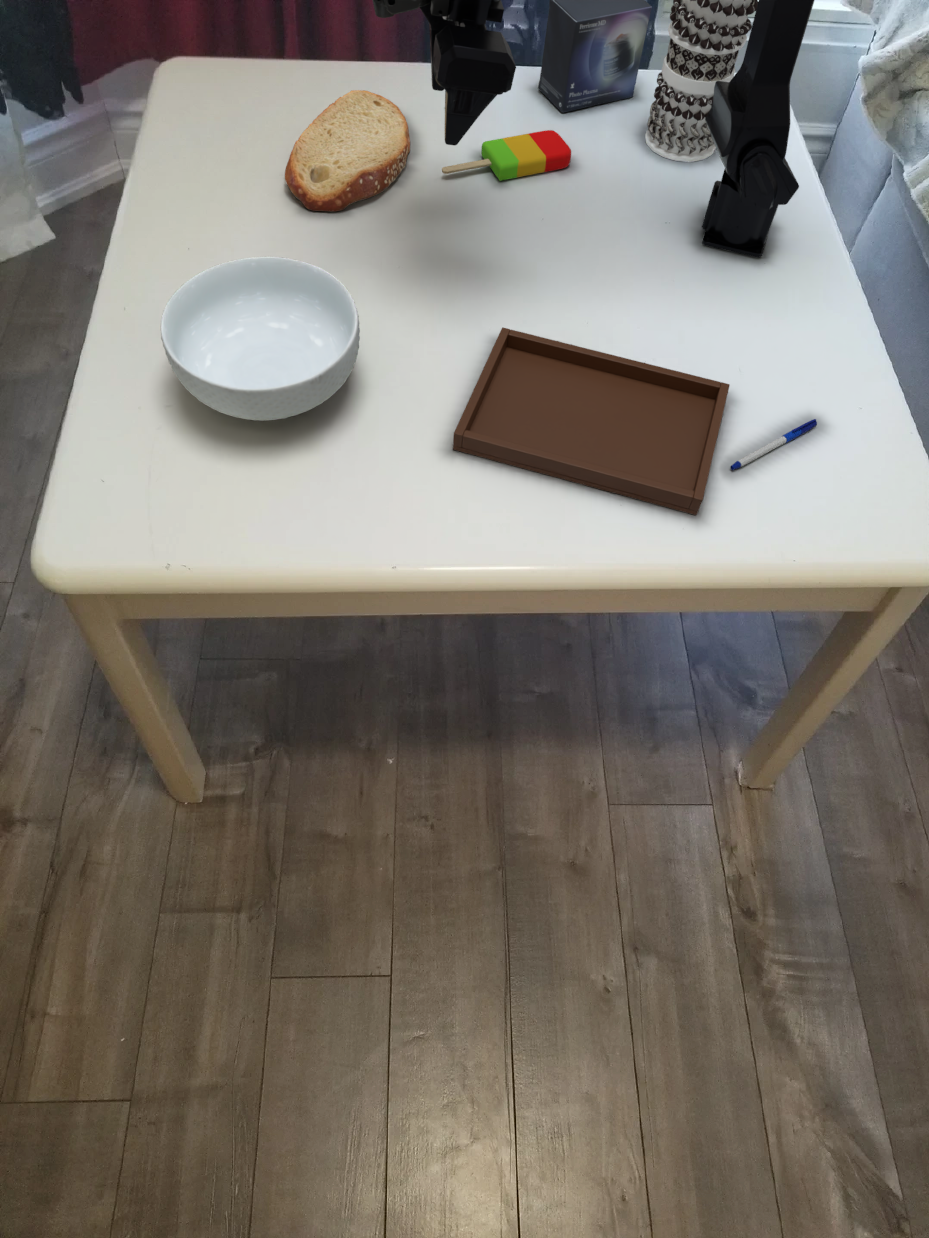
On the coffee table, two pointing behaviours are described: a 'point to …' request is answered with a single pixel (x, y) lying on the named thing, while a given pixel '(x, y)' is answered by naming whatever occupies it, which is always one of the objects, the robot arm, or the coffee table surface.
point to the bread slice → (348, 152)
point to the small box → (592, 51)
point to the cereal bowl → (261, 336)
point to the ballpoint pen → (775, 444)
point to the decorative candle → (695, 74)
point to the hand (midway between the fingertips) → (443, 116)
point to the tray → (595, 420)
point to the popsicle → (520, 155)
